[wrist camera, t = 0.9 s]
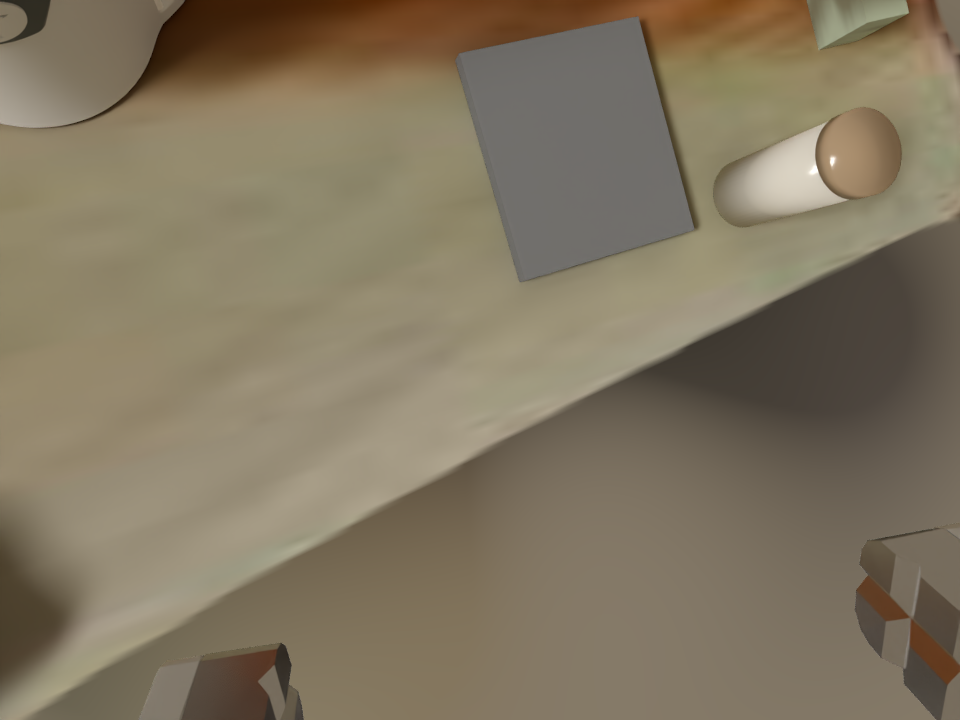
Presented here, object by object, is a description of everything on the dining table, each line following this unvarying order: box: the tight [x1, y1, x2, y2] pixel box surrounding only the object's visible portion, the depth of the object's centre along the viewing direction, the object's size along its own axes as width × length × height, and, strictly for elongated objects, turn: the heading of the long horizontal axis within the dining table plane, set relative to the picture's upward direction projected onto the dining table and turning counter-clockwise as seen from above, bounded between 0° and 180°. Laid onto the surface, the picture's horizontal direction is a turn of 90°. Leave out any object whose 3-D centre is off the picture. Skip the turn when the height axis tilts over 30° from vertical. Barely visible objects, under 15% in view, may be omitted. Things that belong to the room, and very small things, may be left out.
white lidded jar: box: [713, 107, 902, 227], centre depth 49 cm, size 5×5×12 cm
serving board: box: [455, 17, 695, 282], centre depth 50 cm, size 16×14×1 cm
